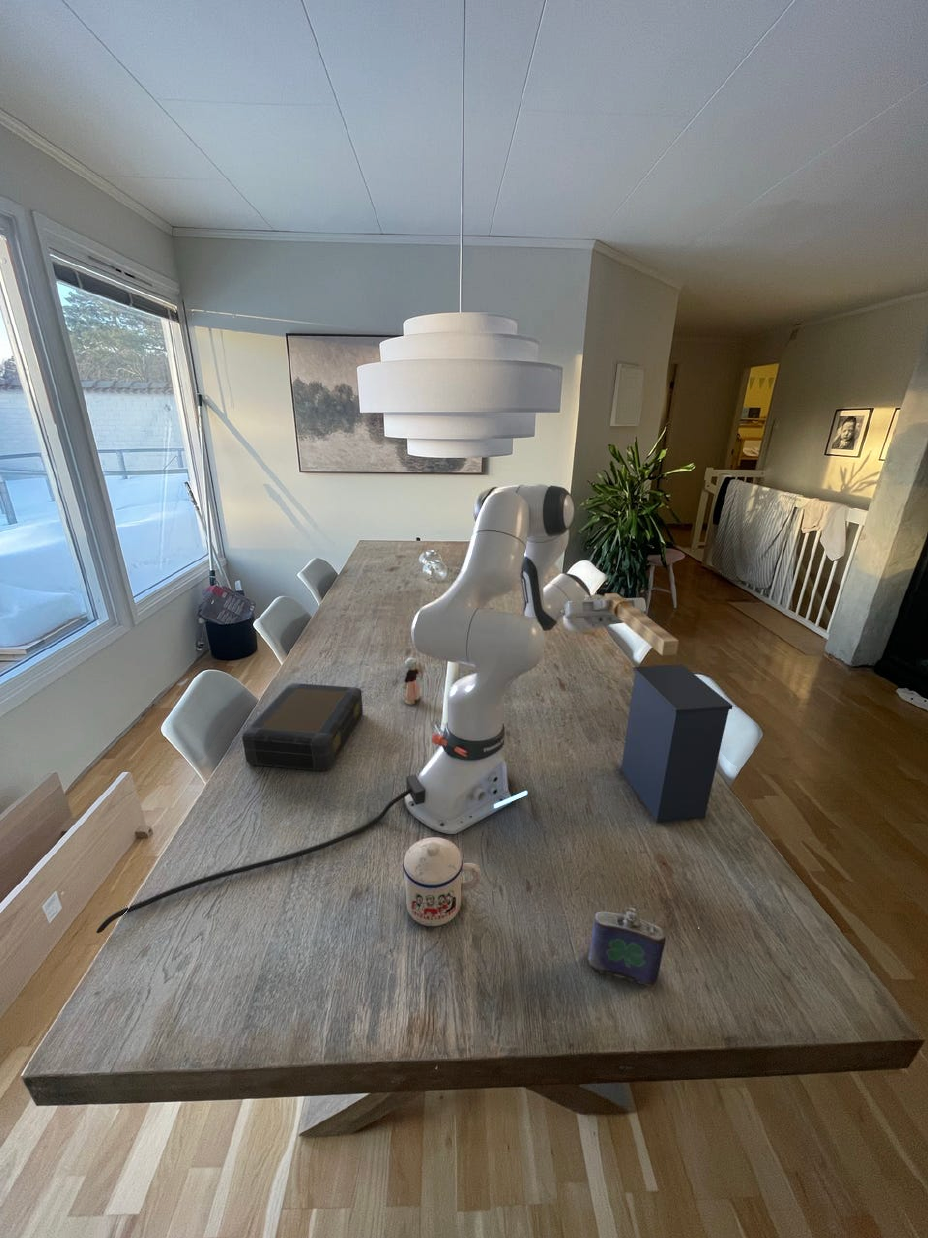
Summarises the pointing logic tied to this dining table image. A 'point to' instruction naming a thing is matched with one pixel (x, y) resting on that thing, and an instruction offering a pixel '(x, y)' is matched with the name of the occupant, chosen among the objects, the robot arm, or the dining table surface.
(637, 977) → the flask
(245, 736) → the black hard case
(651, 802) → the stand
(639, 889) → the dining table surface
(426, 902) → the teacup with lid
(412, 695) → the grandmother figurine
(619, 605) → the ring rod
